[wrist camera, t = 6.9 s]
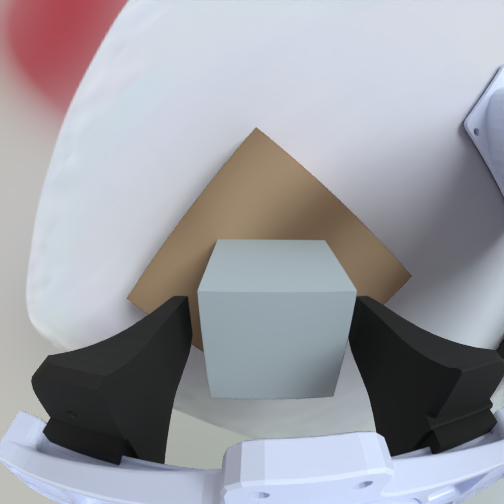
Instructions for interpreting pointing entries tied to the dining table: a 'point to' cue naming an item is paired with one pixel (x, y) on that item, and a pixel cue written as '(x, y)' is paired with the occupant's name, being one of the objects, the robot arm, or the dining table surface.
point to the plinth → (264, 229)
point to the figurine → (501, 350)
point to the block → (274, 319)
